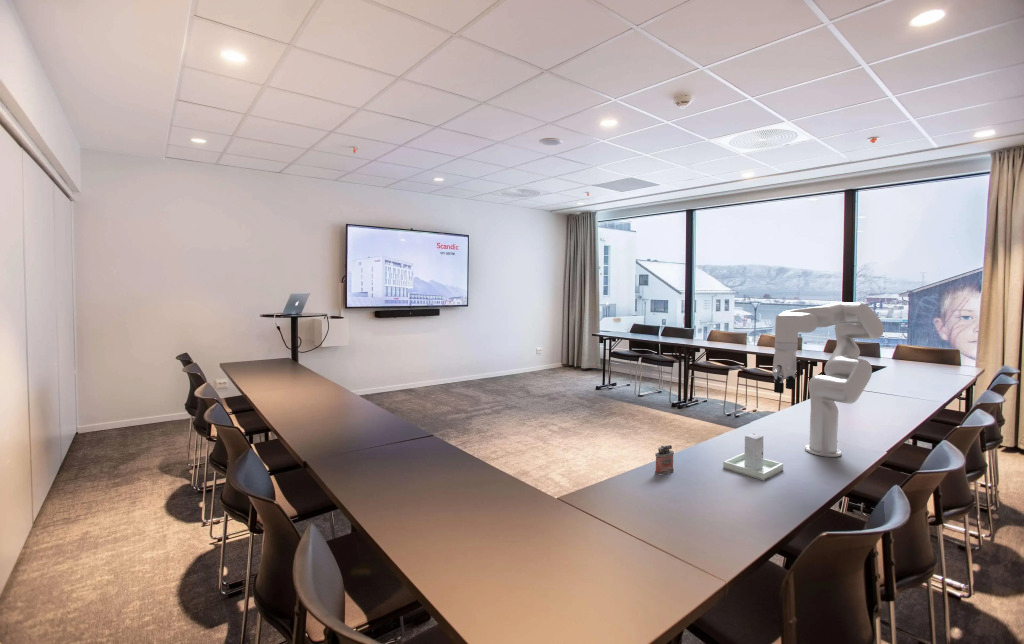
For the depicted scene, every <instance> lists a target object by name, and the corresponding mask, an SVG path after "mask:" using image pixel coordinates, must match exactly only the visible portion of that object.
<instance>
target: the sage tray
mask: <svg viewBox="0 0 1024 644" xmlns="http://www.w3.org/2000/svg"><path fill="white" fill-rule="evenodd" d="M744 461H745V452H741V453H740V454H737V455H735V456H733V457H731V458H729V459H726V460H724V461H723V462H722V464H723V467H722V469H725V470H729V471H731V472H734V473H737V474H742V475H744V476H748V477H750V478H753V479H757V480H761V481H766V480H767V479H770V478H771V477H774V476H775V475H777V474H779V473H780V472H783V471H784V463H782V462H779V461H776V460H775V461H774V460H771V459H768V458H764V457H763V468H760V469H758V470H753V469H749V468H746V467H744Z"/></svg>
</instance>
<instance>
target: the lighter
mask: <svg viewBox="0 0 1024 644" xmlns="http://www.w3.org/2000/svg"><path fill="white" fill-rule="evenodd" d="M672 449H673V445H671V444H667V445H661V446H660V447H658V449H657V451H658V452H655V453H654V454H655V472H654V473H656V474H655V475H657V474H665V475H668V474H667V473H669V474H671V473H670V472H672V473H673V471H675V470H674V454H675V451H674V450H672Z"/></svg>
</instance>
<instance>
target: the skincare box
mask: <svg viewBox="0 0 1024 644" xmlns="http://www.w3.org/2000/svg"><path fill="white" fill-rule="evenodd" d="M744 453H745V461H744V467H746V468H749V469H753V470H758V469H760V468H763V458H764V435H761V434H757V433H756V434H755V433H749V434H747V435H745V436H744Z"/></svg>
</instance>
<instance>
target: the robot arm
mask: <svg viewBox="0 0 1024 644" xmlns="http://www.w3.org/2000/svg"><path fill="white" fill-rule="evenodd" d="M832 326H834V333H835V339H836V345H835V346H836V347H835V349H833V352H832V353H831V354H830V356H829V358H828V360H827V362H826V363H825V364H824V365H825V366H824V368H823V369H824V371H823V372H824V374H825V375H824V374H823V375H822V374H819V375H815V376H812V377H811V378H810V379H809V382H808V392H809V397H810V414H809V417H810V418H809V419H810V421H809V444H805V446H804V450H805V451H806V452H808V453H810V454H812V455H816V456H821V457H827V458H828V457H829V458H836V457H837V458H838V457H840V456H842V451H841V450H840V449H839V448H838V430H839V409H838V406H837V404H836V403H842V404H847V405H850V404H851V405H852V404H854V403H856V402H857V401H858V400H859V398H860V396H861V395H862V394H863V392H864V390H865V388H866V386H867V385H868V383H869V382H870V380H871V378H872V374H873V367H872V365H871V363H870V362H869V361H868V360H865V359H864V358H860V354H861V350H860V347H859V345H858V344H857V343H856V341H855V339H858V340H860V339H861V340H872V341H874V340H879V339H880V338H881V337H882V336H883V335H884V332H885V329H884V328H885V327H884V324H883V322H882V320H881V319H880V317H879V316H878V315H877V314H876V313H875V312H874V310H873V309H872V308H871V307H870V306H869V305H868V304H866V303H863V302H847V301H846V302H844V301H839V302H833V303H828V304H824V305H819V306H812V307H806V308H805V307H802V308H797V309H796V308H795V309H790V310H785V311H782V312H781V313H779V314H777V315H776V317H775V327H774V328H775V331H774V355H773V360H772V361H773V363H772V376H773V382H774V385H773V386H774V387H773V393H777V394H784V392H785V391H784V390H785V389H787V390H792V391H793V390H796V379H797V376H796V375H797V369H798V367H797V352H798V343H799V340H798V339H799V333H802V334H805V333H806V334H807V333H813V332H814V331H815V330H816V329H817V328H818V329H819V328H827V327H832ZM784 380H785V383H784ZM784 388H785V389H784Z"/></svg>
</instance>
